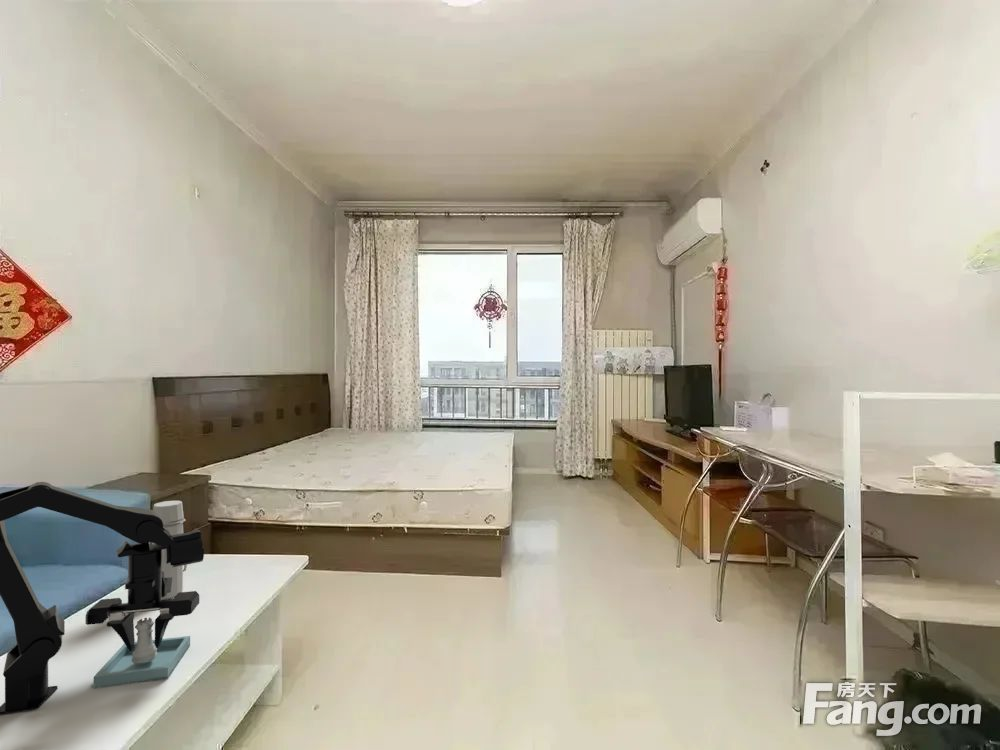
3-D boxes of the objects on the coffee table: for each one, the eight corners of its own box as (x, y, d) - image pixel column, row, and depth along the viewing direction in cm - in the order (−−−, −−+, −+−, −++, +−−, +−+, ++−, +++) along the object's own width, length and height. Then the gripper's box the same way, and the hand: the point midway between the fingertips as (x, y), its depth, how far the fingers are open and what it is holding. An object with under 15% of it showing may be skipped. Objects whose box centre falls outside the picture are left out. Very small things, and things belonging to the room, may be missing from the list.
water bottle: (165, 603, 134) (165, 508, 133) (143, 599, 136) (143, 505, 136) (196, 589, 142) (196, 499, 142) (175, 585, 145) (175, 497, 145)
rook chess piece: (127, 666, 102) (127, 627, 102) (136, 655, 107) (136, 616, 107) (152, 663, 104) (152, 624, 104) (161, 651, 108) (161, 614, 108)
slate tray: (167, 678, 101) (167, 667, 101) (93, 688, 98) (93, 676, 98) (190, 645, 113) (190, 635, 113) (124, 653, 110) (124, 643, 110)
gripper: (207, 555, 115) (207, 624, 115) (112, 562, 111) (112, 634, 111) (190, 574, 104) (190, 650, 104) (83, 583, 100) (83, 662, 100)
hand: (144, 648), depth 105 cm, fingers open, 4 cm apart
